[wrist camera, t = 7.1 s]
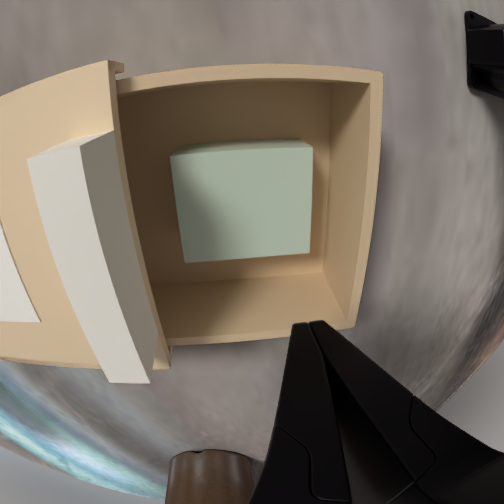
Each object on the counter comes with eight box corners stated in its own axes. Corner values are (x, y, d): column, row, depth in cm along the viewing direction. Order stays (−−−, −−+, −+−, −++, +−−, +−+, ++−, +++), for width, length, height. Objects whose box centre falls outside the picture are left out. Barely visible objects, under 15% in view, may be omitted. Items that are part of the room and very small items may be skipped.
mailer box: (335, 74, 16) (382, 71, 11) (326, 273, 23) (354, 327, 18) (73, 99, 15) (20, 108, 10) (114, 290, 22) (91, 346, 17)
